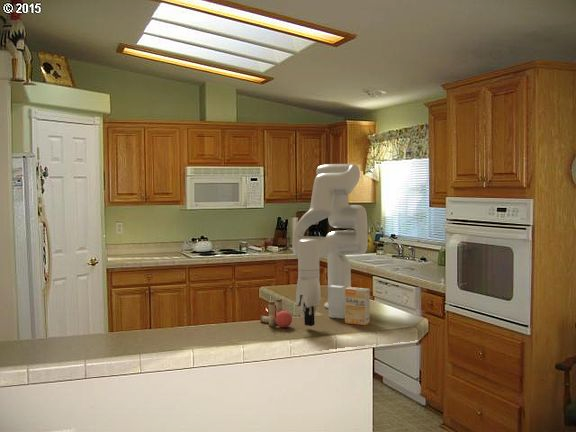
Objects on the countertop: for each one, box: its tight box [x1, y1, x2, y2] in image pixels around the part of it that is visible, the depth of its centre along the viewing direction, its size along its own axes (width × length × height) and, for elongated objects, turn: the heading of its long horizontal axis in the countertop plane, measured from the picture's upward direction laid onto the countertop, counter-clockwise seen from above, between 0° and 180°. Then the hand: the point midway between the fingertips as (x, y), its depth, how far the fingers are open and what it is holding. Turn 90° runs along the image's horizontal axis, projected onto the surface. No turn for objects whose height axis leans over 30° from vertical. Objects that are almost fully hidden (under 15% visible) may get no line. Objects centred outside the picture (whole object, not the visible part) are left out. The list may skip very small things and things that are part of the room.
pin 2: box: [275, 298, 283, 315], centre depth 222 cm, size 2×2×9 cm
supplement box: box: [344, 286, 371, 326], centre depth 219 cm, size 8×5×13 cm, turn 62°
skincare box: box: [327, 285, 346, 320], centre depth 229 cm, size 6×4×12 cm
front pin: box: [259, 315, 278, 326], centre depth 221 cm, size 2×2×9 cm
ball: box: [275, 310, 293, 328], centre depth 215 cm, size 6×6×6 cm
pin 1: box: [268, 300, 276, 327], centre depth 218 cm, size 2×2×9 cm
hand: (309, 325), depth 212 cm, fingers closed
